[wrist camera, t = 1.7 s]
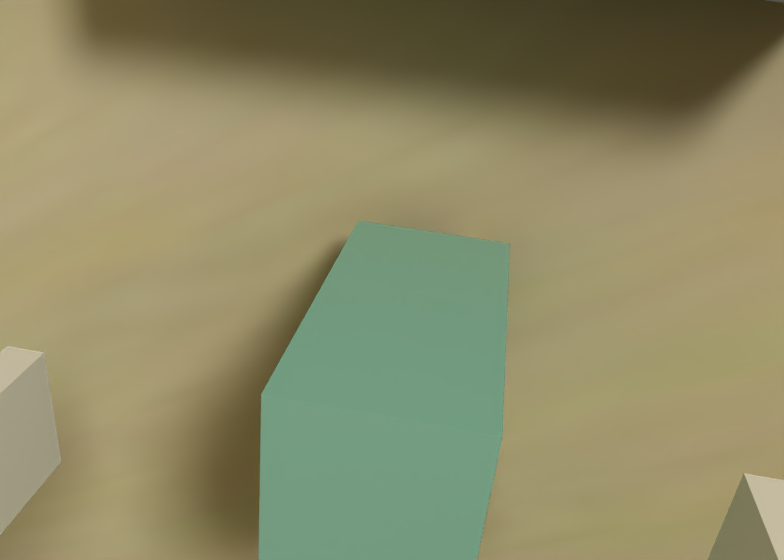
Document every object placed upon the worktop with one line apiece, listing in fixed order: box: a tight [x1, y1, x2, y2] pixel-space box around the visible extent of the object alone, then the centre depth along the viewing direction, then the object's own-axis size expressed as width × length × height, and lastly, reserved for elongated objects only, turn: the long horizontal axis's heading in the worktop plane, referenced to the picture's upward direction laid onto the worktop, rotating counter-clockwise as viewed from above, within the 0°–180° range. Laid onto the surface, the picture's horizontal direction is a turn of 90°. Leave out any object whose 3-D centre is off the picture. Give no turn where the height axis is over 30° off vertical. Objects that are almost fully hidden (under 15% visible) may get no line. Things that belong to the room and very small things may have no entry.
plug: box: [258, 221, 510, 560], centre depth 17 cm, size 5×4×9 cm
